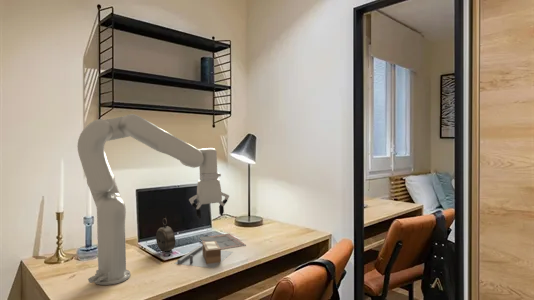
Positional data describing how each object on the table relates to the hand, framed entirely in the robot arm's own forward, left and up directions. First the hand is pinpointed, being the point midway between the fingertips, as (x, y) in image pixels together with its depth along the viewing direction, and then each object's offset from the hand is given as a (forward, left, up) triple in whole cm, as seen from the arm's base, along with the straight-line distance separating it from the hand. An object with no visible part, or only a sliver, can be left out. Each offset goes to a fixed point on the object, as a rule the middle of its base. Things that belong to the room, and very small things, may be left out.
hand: (210, 216), depth 145 cm
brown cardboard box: (-1, -1, -18) cm, 18 cm away
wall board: (-1, +2, -19) cm, 19 cm away
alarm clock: (+2, +24, -20) cm, 31 cm away
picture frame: (+21, +4, -20) cm, 30 cm away
